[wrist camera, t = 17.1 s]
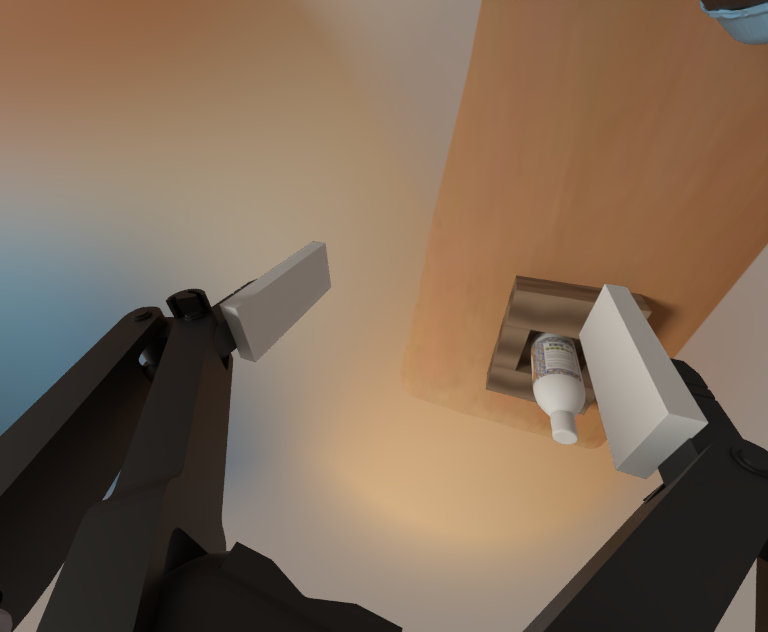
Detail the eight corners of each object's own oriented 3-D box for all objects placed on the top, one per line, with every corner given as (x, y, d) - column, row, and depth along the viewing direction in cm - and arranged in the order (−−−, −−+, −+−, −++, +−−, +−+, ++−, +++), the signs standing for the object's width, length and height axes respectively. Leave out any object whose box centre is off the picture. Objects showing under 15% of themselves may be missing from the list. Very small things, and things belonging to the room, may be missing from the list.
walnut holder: (516, 275, 50) (516, 289, 46) (640, 294, 45) (651, 311, 41) (487, 372, 64) (485, 389, 60) (579, 394, 59) (583, 414, 55)
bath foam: (525, 332, 54) (529, 421, 39) (568, 324, 51) (591, 419, 35) (535, 360, 57) (543, 453, 42) (577, 354, 53) (601, 455, 38)
